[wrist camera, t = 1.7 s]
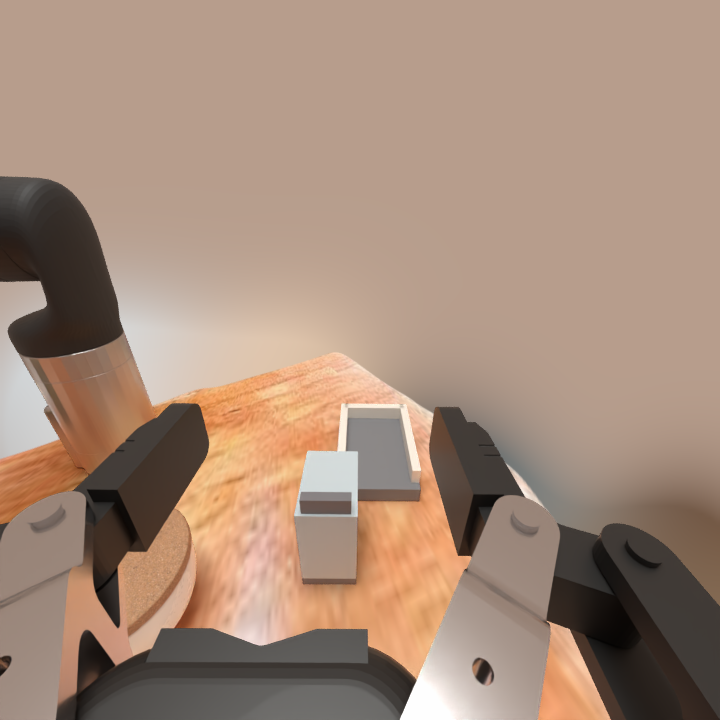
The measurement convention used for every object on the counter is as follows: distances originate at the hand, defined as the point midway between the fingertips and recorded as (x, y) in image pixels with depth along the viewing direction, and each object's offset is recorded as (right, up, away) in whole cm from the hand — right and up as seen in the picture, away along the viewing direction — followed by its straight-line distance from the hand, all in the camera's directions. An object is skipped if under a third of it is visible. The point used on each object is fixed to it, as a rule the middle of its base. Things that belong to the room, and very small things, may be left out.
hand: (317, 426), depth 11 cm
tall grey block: (-1, -17, +21) cm, 27 cm away
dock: (+4, -12, +32) cm, 34 cm away
